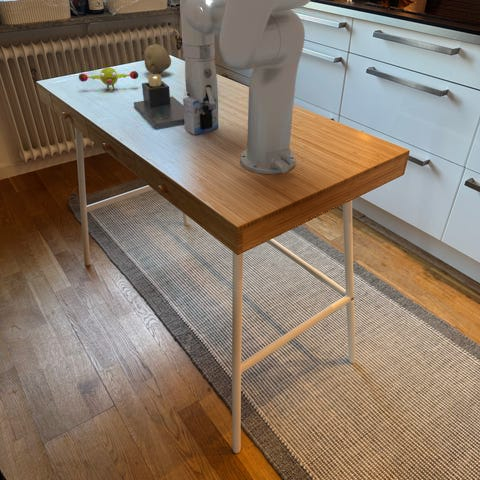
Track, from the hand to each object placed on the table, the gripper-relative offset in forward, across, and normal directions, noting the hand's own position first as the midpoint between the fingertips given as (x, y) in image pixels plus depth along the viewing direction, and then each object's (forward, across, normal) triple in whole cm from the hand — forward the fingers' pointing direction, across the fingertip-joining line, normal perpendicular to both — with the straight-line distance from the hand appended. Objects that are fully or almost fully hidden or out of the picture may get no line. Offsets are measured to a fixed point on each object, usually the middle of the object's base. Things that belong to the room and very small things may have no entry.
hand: (201, 123), depth 117 cm
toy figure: (+1, +41, +13) cm, 43 cm away
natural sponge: (+1, +50, -6) cm, 51 cm away
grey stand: (+1, +14, +5) cm, 15 cm away
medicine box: (+2, 0, 0) cm, 2 cm away
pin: (-3, +20, +5) cm, 21 cm away
